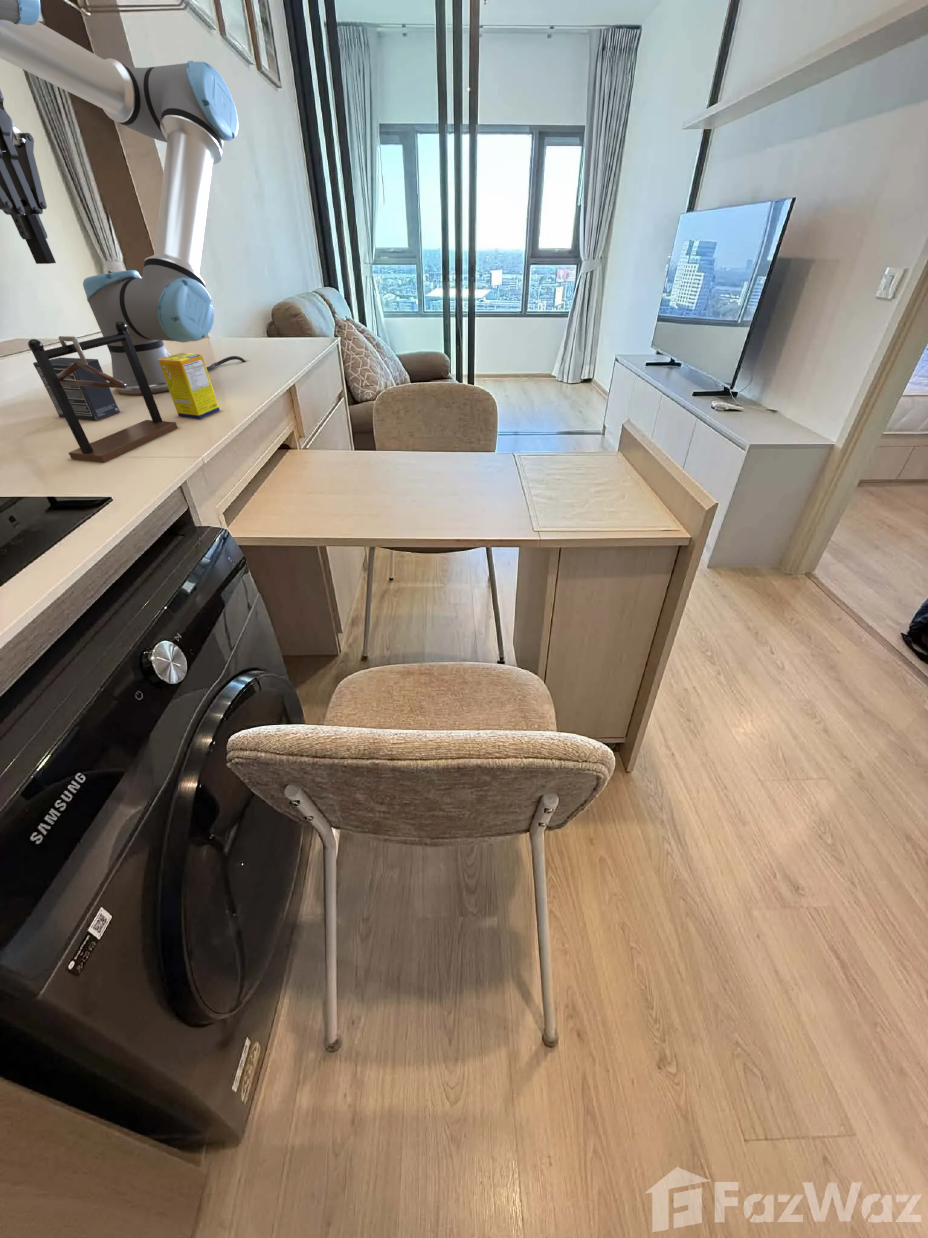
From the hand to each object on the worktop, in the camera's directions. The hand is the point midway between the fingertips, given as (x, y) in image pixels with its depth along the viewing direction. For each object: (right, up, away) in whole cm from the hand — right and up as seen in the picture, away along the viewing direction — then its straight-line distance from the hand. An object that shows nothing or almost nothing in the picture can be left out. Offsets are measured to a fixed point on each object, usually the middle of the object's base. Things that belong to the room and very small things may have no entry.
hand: (46, 263), depth 87 cm
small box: (-7, -18, +20) cm, 28 cm away
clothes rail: (+10, -29, +6) cm, 31 cm away
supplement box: (+16, -18, +19) cm, 31 cm away
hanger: (+9, -22, -2) cm, 24 cm away
